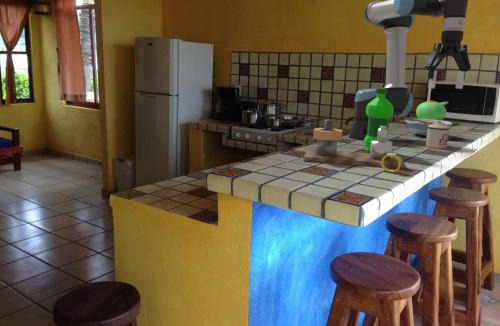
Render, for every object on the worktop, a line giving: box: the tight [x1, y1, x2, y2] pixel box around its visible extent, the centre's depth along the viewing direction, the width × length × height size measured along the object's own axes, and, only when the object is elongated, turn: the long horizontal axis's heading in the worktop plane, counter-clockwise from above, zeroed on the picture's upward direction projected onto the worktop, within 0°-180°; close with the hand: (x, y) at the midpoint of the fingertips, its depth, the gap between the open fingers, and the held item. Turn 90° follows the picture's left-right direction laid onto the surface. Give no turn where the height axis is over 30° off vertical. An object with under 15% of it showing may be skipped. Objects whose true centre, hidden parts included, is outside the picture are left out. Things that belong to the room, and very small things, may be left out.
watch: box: [381, 152, 401, 173], centre depth 142 cm, size 6×3×6 cm, turn 55°
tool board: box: [303, 119, 405, 170], centre depth 156 cm, size 34×16×14 cm, turn 77°
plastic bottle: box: [363, 88, 394, 152], centre depth 174 cm, size 10×10×25 cm
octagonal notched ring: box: [312, 127, 343, 141], centre depth 158 cm, size 10×10×3 cm
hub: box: [369, 126, 393, 160], centre depth 154 cm, size 7×7×12 cm
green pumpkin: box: [415, 99, 449, 121], centre depth 279 cm, size 18×17×15 cm
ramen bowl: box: [400, 116, 453, 137], centre depth 224 cm, size 25×23×8 cm
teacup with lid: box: [425, 120, 451, 150], centre depth 191 cm, size 12×9×12 cm
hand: (445, 88), depth 166 cm, fingers open, 13 cm apart
